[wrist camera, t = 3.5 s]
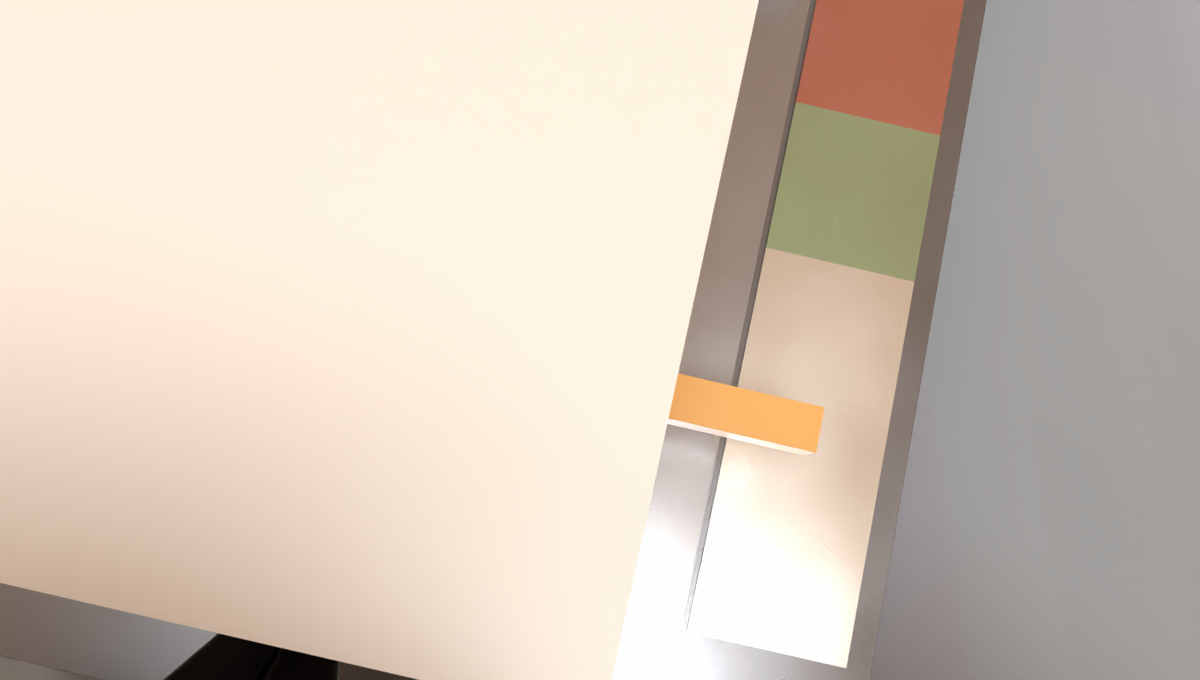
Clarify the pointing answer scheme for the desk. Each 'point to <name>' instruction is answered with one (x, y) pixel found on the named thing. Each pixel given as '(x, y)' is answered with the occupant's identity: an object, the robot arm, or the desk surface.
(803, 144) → the gauge base
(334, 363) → the cream box
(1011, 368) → the desk surface
